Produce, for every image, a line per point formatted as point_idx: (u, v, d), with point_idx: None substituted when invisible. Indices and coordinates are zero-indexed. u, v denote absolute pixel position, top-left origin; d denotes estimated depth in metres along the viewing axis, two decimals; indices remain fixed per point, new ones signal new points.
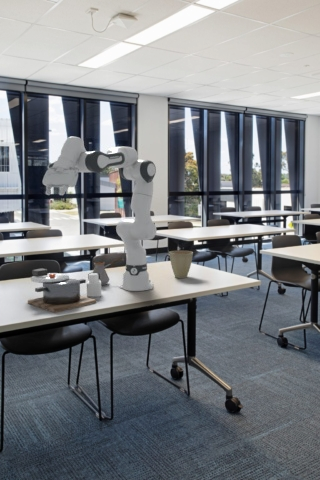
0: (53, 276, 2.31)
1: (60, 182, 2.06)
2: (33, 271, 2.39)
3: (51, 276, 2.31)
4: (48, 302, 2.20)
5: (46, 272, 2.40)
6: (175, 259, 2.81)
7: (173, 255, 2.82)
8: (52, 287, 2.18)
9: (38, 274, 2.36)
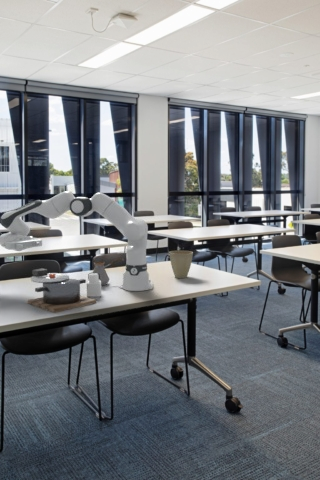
0: (53, 276, 2.31)
1: (20, 248, 2.44)
2: (33, 271, 2.39)
3: (51, 276, 2.31)
4: (48, 302, 2.20)
5: (46, 272, 2.40)
6: (175, 259, 2.81)
7: (173, 255, 2.82)
8: (52, 287, 2.18)
9: (38, 274, 2.36)
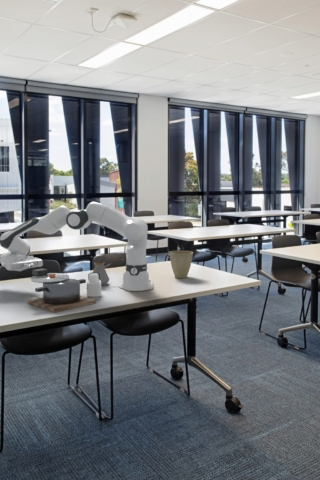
0: (53, 276, 2.31)
1: (20, 269, 2.46)
2: (33, 271, 2.39)
3: (51, 276, 2.31)
4: (48, 302, 2.20)
5: (46, 272, 2.40)
6: (175, 259, 2.81)
7: (173, 255, 2.82)
8: (52, 287, 2.18)
9: (38, 274, 2.36)
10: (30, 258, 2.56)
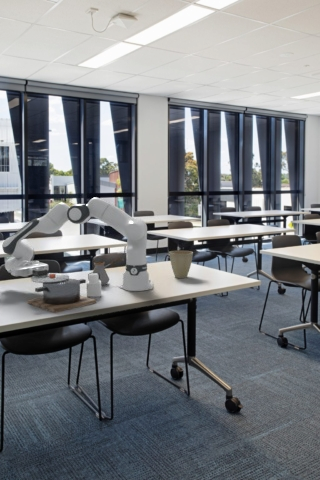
0: (53, 276, 2.31)
1: (26, 274, 2.43)
2: (33, 271, 2.38)
3: (51, 276, 2.30)
4: (48, 302, 2.20)
5: (46, 272, 2.40)
6: (175, 259, 2.81)
7: (173, 255, 2.82)
8: (52, 287, 2.18)
9: (38, 274, 2.36)
10: (36, 263, 2.53)
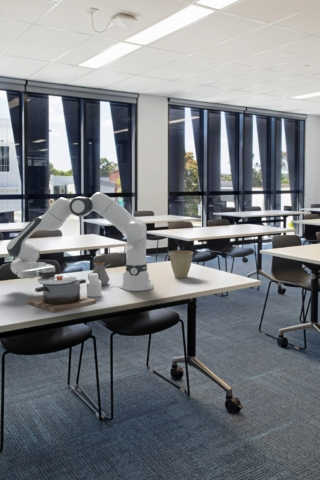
0: (60, 278, 2.26)
1: (33, 276, 2.39)
2: (40, 273, 2.34)
3: (58, 278, 2.26)
4: (48, 302, 2.20)
5: (53, 274, 2.35)
6: (175, 259, 2.81)
7: (173, 255, 2.82)
8: (52, 287, 2.18)
9: (45, 276, 2.32)
10: (42, 265, 2.48)
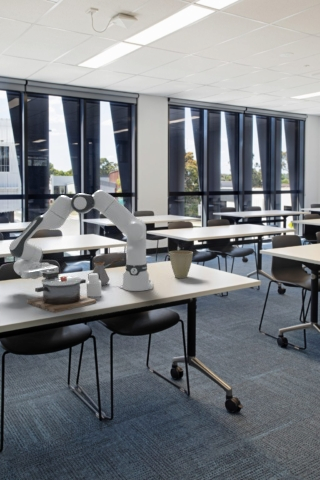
0: (64, 279, 2.24)
1: (36, 277, 2.36)
2: (43, 274, 2.32)
3: (62, 279, 2.24)
4: (48, 302, 2.20)
5: (57, 275, 2.33)
6: (175, 259, 2.81)
7: (173, 255, 2.82)
8: (52, 287, 2.18)
9: (49, 277, 2.30)
10: (45, 265, 2.46)
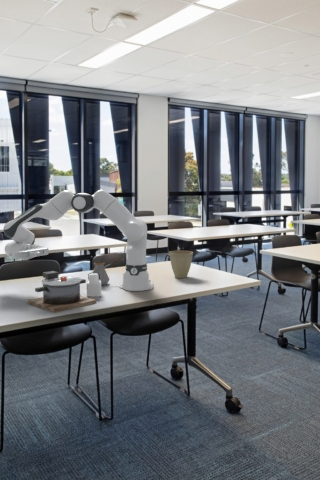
0: (64, 279, 2.24)
1: (26, 257, 2.41)
2: (43, 274, 2.32)
3: (62, 279, 2.24)
4: (48, 302, 2.20)
5: (57, 275, 2.33)
6: (175, 259, 2.81)
7: (173, 255, 2.82)
8: (52, 287, 2.18)
9: (49, 277, 2.30)
10: (36, 247, 2.51)
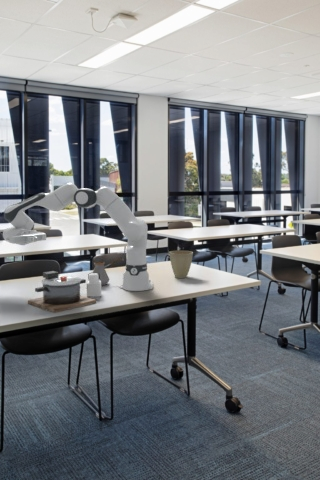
0: (64, 279, 2.24)
1: (24, 242, 2.42)
2: (43, 274, 2.32)
3: (62, 279, 2.24)
4: (48, 302, 2.20)
5: (57, 275, 2.33)
6: (175, 259, 2.81)
7: (173, 255, 2.82)
8: (52, 287, 2.18)
9: (49, 277, 2.30)
10: (33, 232, 2.52)
